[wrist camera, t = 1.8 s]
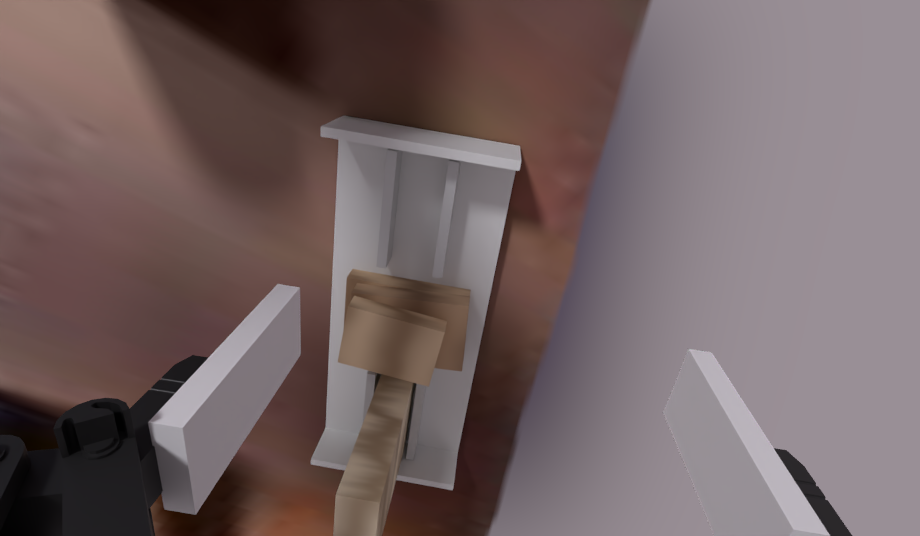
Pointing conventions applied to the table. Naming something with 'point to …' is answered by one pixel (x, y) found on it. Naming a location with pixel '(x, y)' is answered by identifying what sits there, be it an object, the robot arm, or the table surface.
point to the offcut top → (391, 340)
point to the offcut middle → (433, 306)
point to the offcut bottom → (394, 284)
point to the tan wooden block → (374, 461)
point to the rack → (413, 268)
